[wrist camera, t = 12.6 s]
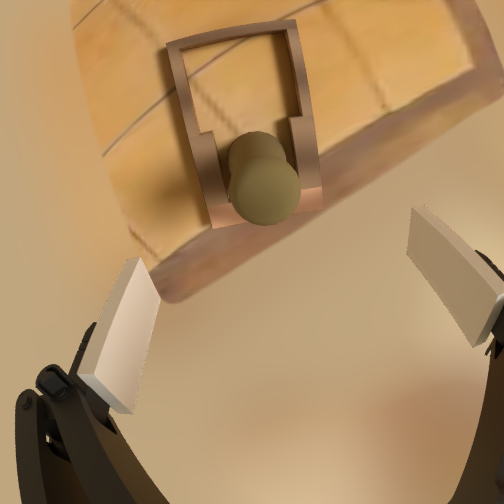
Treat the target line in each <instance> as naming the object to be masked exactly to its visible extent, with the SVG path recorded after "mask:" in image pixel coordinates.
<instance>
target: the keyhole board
mask: <svg viewBox="0 0 504 504" xmlns="http://www.w3.org/2000/svg"><path fill="white" fill-rule="evenodd" d="M279 32H284V33H285V38H286V43H287V47H288V52H289V57H290V62H291V67H292V73H293V78H294V84H295V89H296V95H297V101H298V107H299V113H300V115H297V116H289V117H288V122H289V129H290V135H291V141H292V148H293V155H294V161H295V168H296V173H297V175H298V178H299V180H300V183H301V197H300V200H299V203H298V206H297V208H296V209H295V210H294V212H293V213H299V212H305V211H310V210H316V209H322V208H323V196H322V185H321V175H320V165H319V157H318V148H317V140H316V132H315V125H314V118H313V111H312V104H311V98H310V92H309V86H308V80H307V74H306V69H305V63H304V58H303V53H302V48H301V43H300V38H299V33H298V29H297V24H296V20H295V19H292V20H280V21H270V22H261V23H254V24H247V25H240V26H235V27H229V28H224V29H219V30H214V31H210V32H205V33H201V34H197V35H193V36H189V37H185V38H182V39H178V40H175V41H171V42H168V43H166V46H167V50H168V55H169V59H170V64H171V68H172V72H173V77H174V81H175V85H176V89H177V94H178V98H179V102H180V106H181V110H182V114H183V118H184V122H185V126H186V130H187V134H188V138H189V142H190V146H191V150H192V154H193V158H194V161H195V165H196V169H197V173H198V176H199V180H200V184H201V188H202V191H203V195H204V199H205V202H206V206H207V209H208V213H209V217H210V220H211V224H212V227H213V229H214V228H219V227H224V226H229V225H234V224H239V223H245V222H248V221H246V220H244V219H243V218H242V217H241V216H240V215H239V214H238V213H237V212H236V211H235V209H234V207H233V205H232V203H231V201H230V198H229V197H228V193H227V189H226V185H225V180H224V176H223V172H222V168H221V164H220V159H219V155H218V151H217V147H216V142H215V138H214V134H213V131H209V132H204V133H200V129H199V125H198V121H197V117H196V113H195V108H194V104H193V100H192V96H191V91H190V87H189V83H188V78H187V74H186V70H185V65H184V61H183V56H182V52H181V51H183V50H187V49H191V48H195V47H199V46H203V45H207V44H211V43H216V42H221V41H225V40H231V39H236V38H242V37H248V36H255V35H262V34H270V33H279ZM293 213H292V214H293Z"/></svg>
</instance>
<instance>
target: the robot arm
mask: <svg viewBox="0 0 504 504" xmlns="http://www.w3.org/2000/svg"><path fill="white" fill-rule="evenodd" d="M407 255H408V256H409V258H410V259H411V260H412V261H413V263H414V264H415V265H416V267H417V268H418V269H419V270H420V272H421V273H422V274H423V276H424V277H425V278H426V280H427V281H428V282H429V284H430V285H431V286H432V288H433V289H434V290H435V292H436V293H437V295H438V296H439V297H440V299H441V300H442V302H443V303H444V305H445V306H446V307H447V309H448V310H449V312H450V313H451V315H452V316H453V318H454V319H455V321H456V322H457V324H458V325H459V327H460V328H461V330H462V332H463V333H464V335H465V336H466V338H467V340H468V341H469V343H470V344H471V346H472V348H474V347H476V346H478V345H480V344H482V343H484V342H486V340H487V338H488V336H489V334H490V332H492V334H493V335H494V338H493V340H492V342H491V344H490V345H489V347H488V349H487V350H486V353H485V355H486V356H487V354H488V353H489V351H490V350H491V355H490V365H489V372H488V379H487V385H486V391H485V396H484V401H483V406H482V411H481V415H480V419H479V423H478V427H477V431H476V434H475V438H474V441H473V445H472V448H471V451H470V454H469V457H468V460H467V463H466V466H465V469H464V471H463V474H462V476H461V479H460V482H459V484H458V486H457V489H456V491H455V493H454V495H453V497H452V499H451V500H450V502H449V503H448V504H504V274H503V273H502V272H501V271H500V270H498V268H497V267H496V266H495V265H494V264H493V263H492V262H491V260H490V259H489V258H488V257H486V256H485V255H484V254H482V253H480V252H479V251H477V250H475V251H474V250H473V249H472V248H471V247H470V246H469V245H468V244H467V243H466V242H465V241H464V240H463V239H462V238H461V237H460V236H459V235H458V234H456V233H455V232H454V231H453V230H452V229H451V228H450V227H449V226H448V225H447V224H445V223H444V222H443V221H442V220H441V219H440V218H439V217H437V216H436V215H435V214H434V213H433V212H432V211H430V210H429V209H428V208H427V207H426V206H424V205H421V206H415V207H412V208H411V220H410V230H409V239H408V247H407ZM160 301H161V299H160V297H159V295H158V293H157V291H156V289H155V287H154V284H153V282H152V280H151V278H150V276H149V274H148V272H147V270H146V267H145V265H144V263H143V261H142V259H141V257H137V258H132V259H127V260H126V263H125V264H124V266H123V268H122V270H121V272H120V274H119V276H118V278H117V280H116V282H115V284H114V287H113V289H112V291H111V293H110V295H109V297H108V299H107V301H106V304H105V306H104V308H103V310H102V312H101V315H100V317H99V319H98V322H94V323H92V325H91V326H90V327H89V328H88V329H87V331H86V332H85V335H84V337H83V339H82V343H81V344H80V346H79V351H77V354H76V356H75V359H74V361H73V364H72V366H71V369H70V371H69V374H68V375H67V374H66V373H65V372H64V371H63V370H62V369H61V368H60V366H58V365H56V364H51V365H48V366H47V367H45V368H44V369H43V370H42V371H41V372H40V373H39V375H38V376H37V379H36V388H37V389H38V390H39V391H40V392H41V393H42V394H43V395H41V396H39V395H38V394H37V393H36V392H35V391H34V390H32V389H27V390H25V391H23V392H22V393H21V394H20V395H19V397H18V399H17V402H16V409H15V444H16V462H17V473H18V482H19V489H20V496H21V501H22V504H170V503H169V502H168V501H167V499H166V498H165V497H164V496H163V495H162V493H161V492H160V491H159V489H158V488H157V487H156V485H155V484H154V483H153V481H152V480H151V478H150V477H149V476H148V474H147V473H146V471H145V470H144V468H143V467H142V465H141V464H140V463H139V461H138V460H137V458H136V456H135V455H134V453H133V452H132V450H131V449H130V447H129V445H128V444H127V442H126V440H125V439H124V437H123V436H122V434H121V432H120V430H119V429H118V427H117V425H116V423H115V421H114V420H113V418H112V417H111V415H110V414H109V413H108V412H109V408H110V407H111V408H112V409H114V410H115V411H116V412H117V413H120V414H134V412H135V406H136V402H137V397H138V392H139V387H140V383H141V378H142V373H143V369H144V364H145V360H146V356H147V352H148V347H149V343H150V339H151V335H152V331H153V327H154V323H155V320H156V316H157V312H158V308H159V305H160ZM46 435H47V436H48V437H49V443H48V442H47V441H46Z"/></svg>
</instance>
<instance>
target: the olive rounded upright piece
mask: <svg viewBox="0 0 504 504" xmlns="http://www.w3.org/2000/svg"><path fill="white" fill-rule="evenodd" d="M227 163H228V168H229V171H230V173H231V175H232V177H231V181H230V186H229V196H230V201H231V203H232V205H233V207H234V209H235V211H236V212H237V213H238V214H239V215H240V216H241V217H242V218H243V219H244V220H246V221H248V222H250V223H252V224H256V225H262V226H266V225H274V224H277V223H279V222H282V221H284V220H285V219H287V218H288V217H289V216H290V215H292V213H293V212H294V210H295V209H296V208H297V206H298V203H299V200H300V197H301V183H300V180H299V178H298V175H297V173H296V171H295V170H294V169H293V168H292V167H291V166H290V165H289V163H288V162H287V161H286V154H285V151H284V148H283V146H282V144H281V143H280V142H279V141H278V140H277V139H276V138H275V137H274V136H272V135H270V134H268V133H264V132H259V131H256V132H248V133H246V134H244V135H242V136H240V137H239V138H237V139H236V140H235V141H234V142H233V144H232V145H231V147H230V149H229V151H228V156H227Z"/></svg>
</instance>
